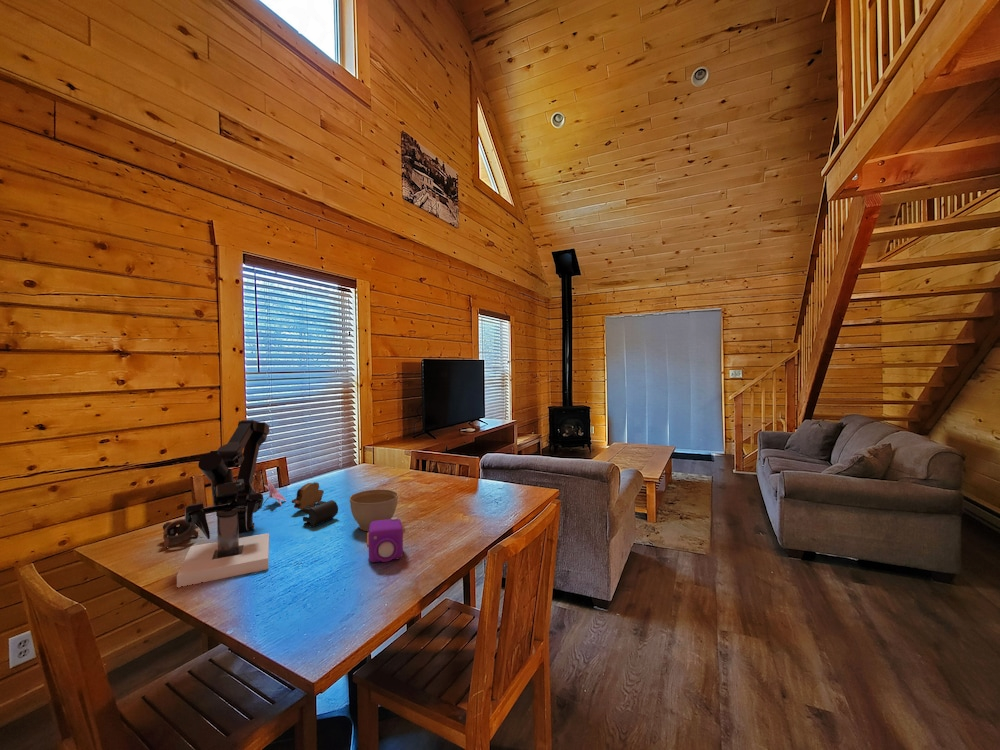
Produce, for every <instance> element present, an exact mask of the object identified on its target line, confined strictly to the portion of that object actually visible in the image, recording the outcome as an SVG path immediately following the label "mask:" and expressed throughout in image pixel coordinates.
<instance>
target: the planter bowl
mask: <svg viewBox="0 0 1000 750" xmlns="http://www.w3.org/2000/svg"><path fill="white" fill-rule="evenodd" d="M398 497H399V493H398V492H397V491H394V490H391V489H384V488H383V489H367V490H361V491H359V492H355V493H354V494H352V495H351V496H350V497H349V503H350V510H351V514H352V516H353V518H354V521H355V522H356V523H357V524H358V526H359V529H360V530H361V531H364V532H369V525H370V523H371V522H373V521H377V520H387V519H391V518H393V517H394V514H395V512H396V510H397V505H398Z"/></svg>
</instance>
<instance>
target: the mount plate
mask: <svg viewBox="0 0 1000 750" xmlns="http://www.w3.org/2000/svg"><path fill="white" fill-rule="evenodd" d="M269 558H270V533H269V532H268V533H267V532H266V533H261V534H256V535H249V536H243V537H239V555H234V556H229V557H223V558H218V541H215V542H214V541H213V542H209V543H202V544H196V545H191V546H190V547H189V550H188V551H187V554H186V556H185V558H184V559H183V562H182V564H181V566H180V569H179V571H178V572H177V574H176V588H177V587H178V588H182V587H181V586H183V587H187V585H188V586H192V584H193V585H196V584H197V585H198V584H202V583H201V582H203V583H206V582H211V581H216V580H221V579H226V578H231V577H235V576H241V575H246V574H249V573H251V574H252V573H254V572H255V573H256V572H259V571H260V572H261V571H265V570H269V564H270V563H269V561H270V559H269Z"/></svg>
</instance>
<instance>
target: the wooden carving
mask: <svg viewBox="0 0 1000 750" xmlns="http://www.w3.org/2000/svg"><path fill="white" fill-rule="evenodd" d="M319 488H320V484H319V482H315V481H314V482H307V483H306V484H304V485H302V486H300V488H298V489H297V491H296V497H295V498H294V499H292V500H291V504H294V505H293V508H295V509H298V510H301V511H303V508H305V507H307V506H316V505H317V504H316V503H318V502H320V501H322V499H323V495H324V492H325V491H324V490H323V489H319Z"/></svg>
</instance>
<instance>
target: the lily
mask: <svg viewBox="0 0 1000 750" xmlns="http://www.w3.org/2000/svg"><path fill="white" fill-rule="evenodd" d="M267 480H268V485H269V486H268V485H266V484H264V485H263V486H264V487H265V488H266V489H267V490H268V492H269V495H268V497H267V498H266V499H265V500H264V501H263V504H262V507H263V506H264V505H265V503H266V502H267V500H269V498H272V499H275V500H276V501H277V502H278V503H279V505H280V506H281V507H282V506H283V503H282V501H285V502H287V500H286V498H285V497H284V495H283V494H281V493H280V490H278V488H275V486H274V484H273V483H272V481H271V480H270V479H269V478H267ZM281 500H282V501H281Z"/></svg>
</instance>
